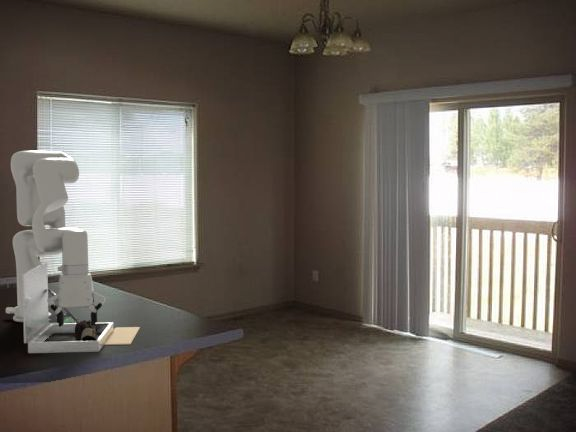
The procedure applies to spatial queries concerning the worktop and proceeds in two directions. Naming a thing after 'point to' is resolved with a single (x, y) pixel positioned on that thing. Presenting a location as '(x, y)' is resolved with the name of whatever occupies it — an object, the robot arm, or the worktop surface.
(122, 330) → the pad
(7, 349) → the worktop surface
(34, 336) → the case
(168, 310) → the worktop surface
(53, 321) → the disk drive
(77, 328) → the dark piece
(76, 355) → the worktop surface
